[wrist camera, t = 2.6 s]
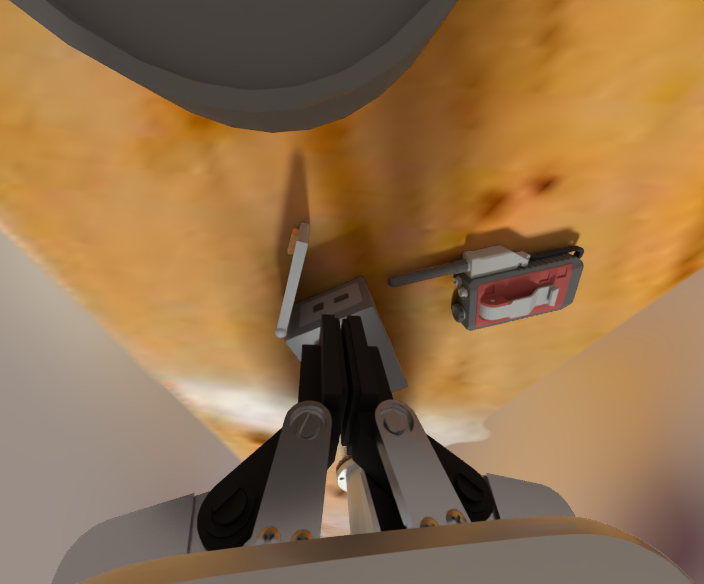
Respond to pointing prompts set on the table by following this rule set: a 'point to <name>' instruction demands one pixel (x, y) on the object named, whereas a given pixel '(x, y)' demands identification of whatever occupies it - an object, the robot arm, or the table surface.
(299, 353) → the camera body
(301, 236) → the side door
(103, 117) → the table surface
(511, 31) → the table surface
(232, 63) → the reusable coffee cup
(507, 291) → the walkie-talkie
